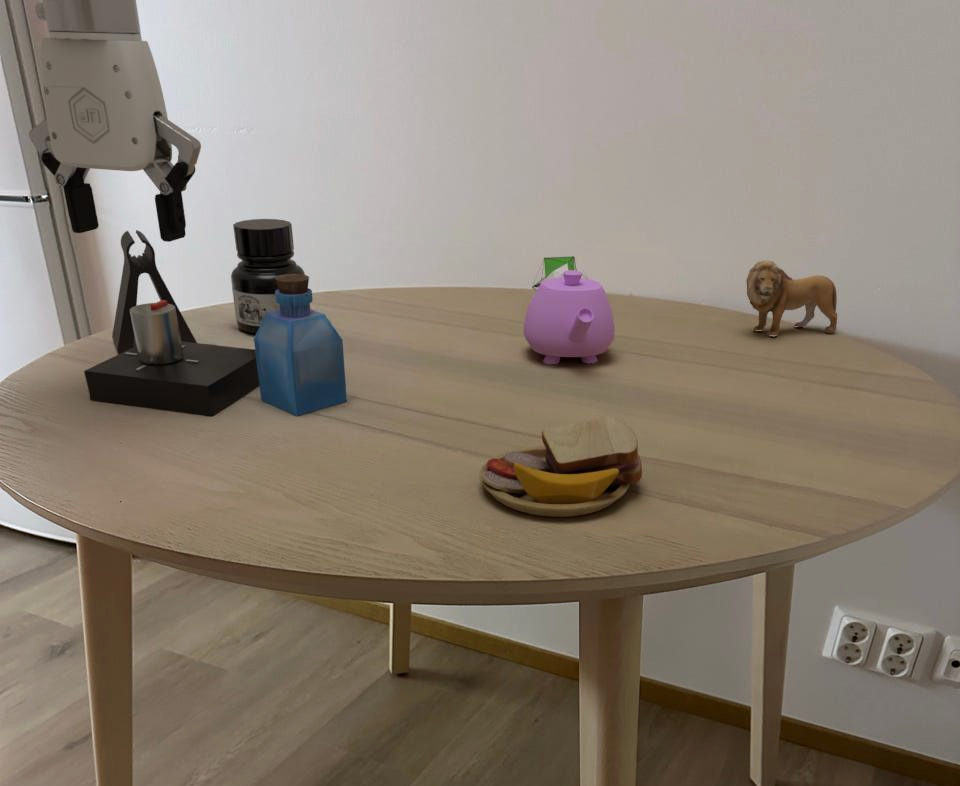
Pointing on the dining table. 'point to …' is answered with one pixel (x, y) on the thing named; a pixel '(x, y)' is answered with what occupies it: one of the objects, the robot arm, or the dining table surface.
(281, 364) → the perfume bottle
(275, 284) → the ink bottle
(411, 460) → the dining table surface
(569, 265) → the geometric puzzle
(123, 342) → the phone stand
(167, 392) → the hob
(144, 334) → the knob
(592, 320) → the teapot
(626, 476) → the toy sandwich meal
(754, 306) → the lion figurine
